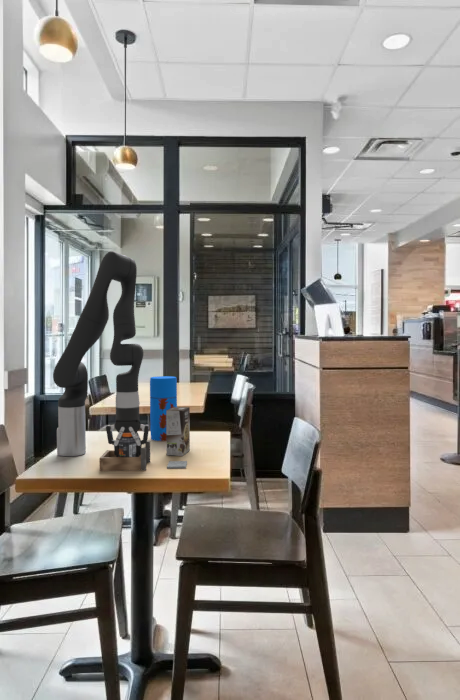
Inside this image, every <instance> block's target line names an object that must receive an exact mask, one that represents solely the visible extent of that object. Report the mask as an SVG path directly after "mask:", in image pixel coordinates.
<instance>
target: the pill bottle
mask: <svg viewBox="0 0 460 700" xmlns="http://www.w3.org/2000/svg"><path fill="white" fill-rule="evenodd" d="M136 446H137V443H136V441H135V440H134V438H133V436H132V434H131V433H130V432H126V433H123V434H122V437H121V439H120V440H119V457H137V451H136Z"/></svg>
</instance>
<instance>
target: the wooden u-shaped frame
mask: <svg viewBox="0 0 460 700" xmlns="http://www.w3.org/2000/svg"><path fill="white" fill-rule="evenodd" d="M144 445H145V446H144V447H142V448H141V455H140V456H139V457H116V455H115V454H114V449H109V450H108V449H107V450H105V452H104V453H102V455H101V456H100V457H99V459H98V460H99V461H98V462H99V471H101V472H103V471H104V472H105V471H107V472H108V471H109V472H110V471H112V472H113V471H114V472H116V471H121V470H129V471H146V470H147V463H151V441H150V440H147V442H146V444H144Z"/></svg>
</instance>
